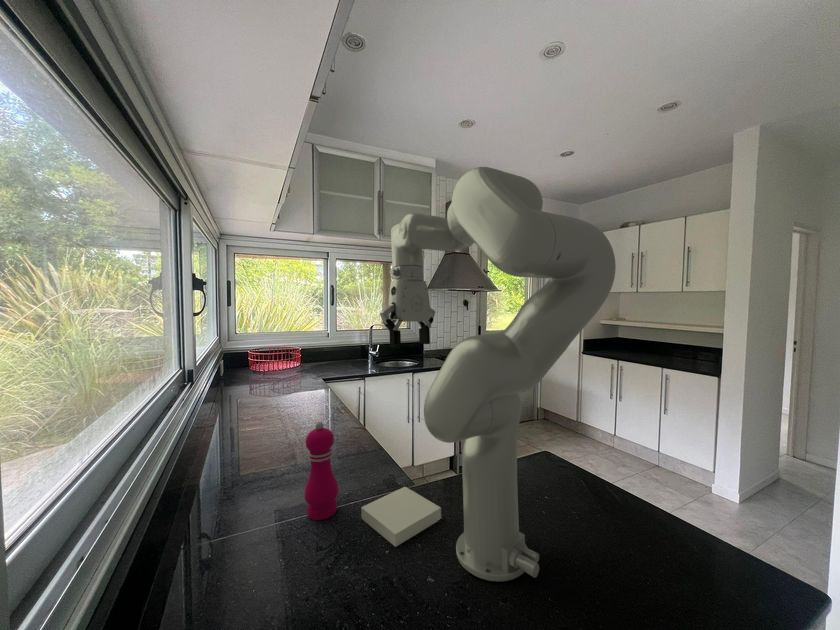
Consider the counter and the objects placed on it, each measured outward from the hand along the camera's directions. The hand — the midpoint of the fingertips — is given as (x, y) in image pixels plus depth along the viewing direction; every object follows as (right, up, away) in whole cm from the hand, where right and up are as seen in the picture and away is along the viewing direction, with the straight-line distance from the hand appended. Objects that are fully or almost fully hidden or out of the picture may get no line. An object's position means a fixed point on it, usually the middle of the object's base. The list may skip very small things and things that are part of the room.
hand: (410, 345), depth 80 cm
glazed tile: (-6, -35, -6) cm, 36 cm away
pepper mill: (-19, -36, -7) cm, 42 cm away
